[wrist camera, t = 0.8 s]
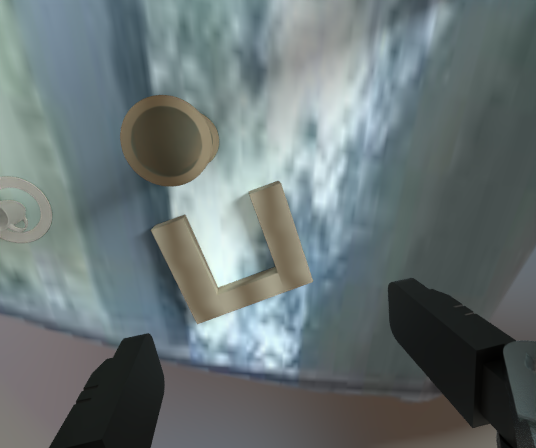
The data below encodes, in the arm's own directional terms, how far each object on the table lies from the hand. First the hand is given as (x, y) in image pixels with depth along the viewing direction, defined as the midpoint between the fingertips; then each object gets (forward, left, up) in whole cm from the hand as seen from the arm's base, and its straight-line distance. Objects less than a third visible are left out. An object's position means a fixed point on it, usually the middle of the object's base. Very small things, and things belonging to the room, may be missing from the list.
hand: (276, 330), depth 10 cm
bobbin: (+4, -7, -29) cm, 30 cm away
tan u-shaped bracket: (+4, +8, -29) cm, 30 cm away
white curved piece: (+25, -9, -29) cm, 40 cm away
